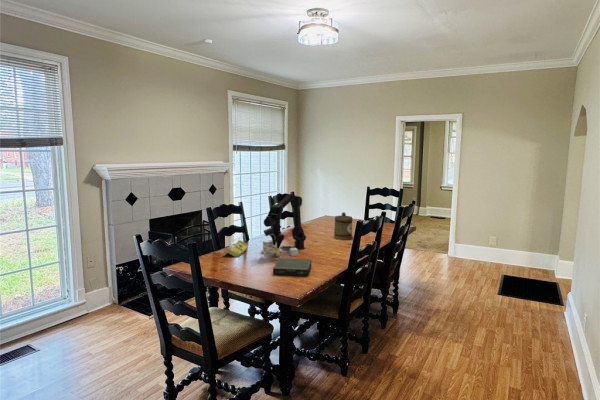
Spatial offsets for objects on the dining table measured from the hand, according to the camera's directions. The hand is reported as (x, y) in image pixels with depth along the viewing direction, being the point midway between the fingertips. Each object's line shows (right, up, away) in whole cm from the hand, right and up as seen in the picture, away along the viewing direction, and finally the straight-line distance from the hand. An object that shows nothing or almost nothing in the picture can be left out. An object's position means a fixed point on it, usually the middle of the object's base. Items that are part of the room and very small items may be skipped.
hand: (276, 246), depth 256 cm
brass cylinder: (0, -7, +1) cm, 7 cm away
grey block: (+12, -7, +5) cm, 15 cm away
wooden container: (+53, 0, +59) cm, 79 cm away
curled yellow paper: (-28, -6, +8) cm, 30 cm away
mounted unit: (+1, -5, +14) cm, 15 cm away
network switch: (+12, -11, -28) cm, 33 cm away
